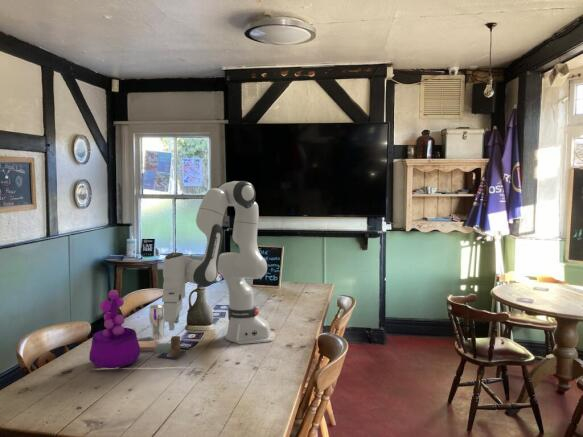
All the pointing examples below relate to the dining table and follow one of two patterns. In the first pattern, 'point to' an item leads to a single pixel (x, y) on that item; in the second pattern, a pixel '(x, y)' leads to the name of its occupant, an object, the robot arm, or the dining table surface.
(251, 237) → the robot arm
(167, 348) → the mat
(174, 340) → the walnut block
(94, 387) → the dining table surface
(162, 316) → the beer glass
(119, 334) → the decorative plant
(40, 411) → the dining table surface
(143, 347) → the tile
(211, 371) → the dining table surface
